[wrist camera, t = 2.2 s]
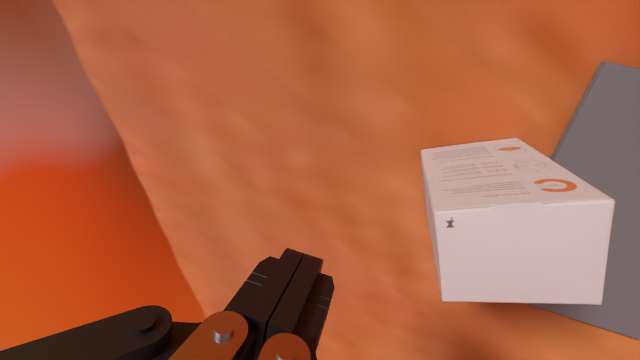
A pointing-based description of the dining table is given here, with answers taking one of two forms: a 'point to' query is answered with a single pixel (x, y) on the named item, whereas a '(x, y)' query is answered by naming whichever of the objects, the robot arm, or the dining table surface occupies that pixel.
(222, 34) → the dining table surface
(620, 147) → the slate mat
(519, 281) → the small box
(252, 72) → the dining table surface
